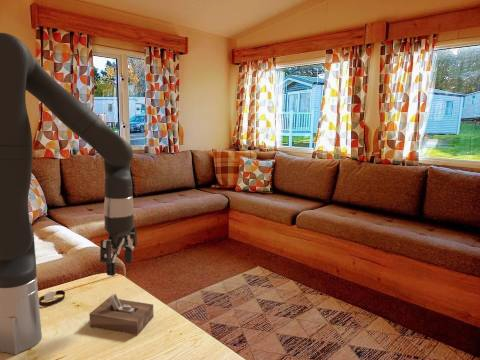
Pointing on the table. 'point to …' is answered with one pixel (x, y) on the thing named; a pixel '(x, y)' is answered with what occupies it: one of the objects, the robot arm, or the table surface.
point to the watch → (50, 295)
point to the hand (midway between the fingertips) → (120, 268)
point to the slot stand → (121, 317)
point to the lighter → (117, 305)
